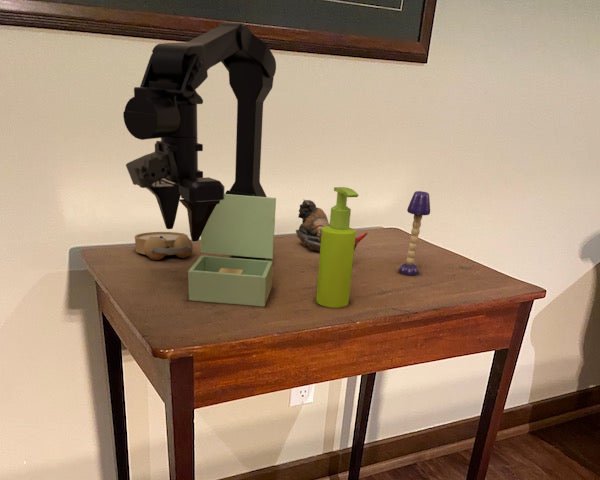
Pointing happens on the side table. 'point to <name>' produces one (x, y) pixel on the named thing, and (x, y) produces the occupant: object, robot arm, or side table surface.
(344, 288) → the soap dispenser
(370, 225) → the side table surface
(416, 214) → the toy lamp
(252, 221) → the lid
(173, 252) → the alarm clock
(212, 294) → the chest
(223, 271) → the block
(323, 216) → the bison figurine
